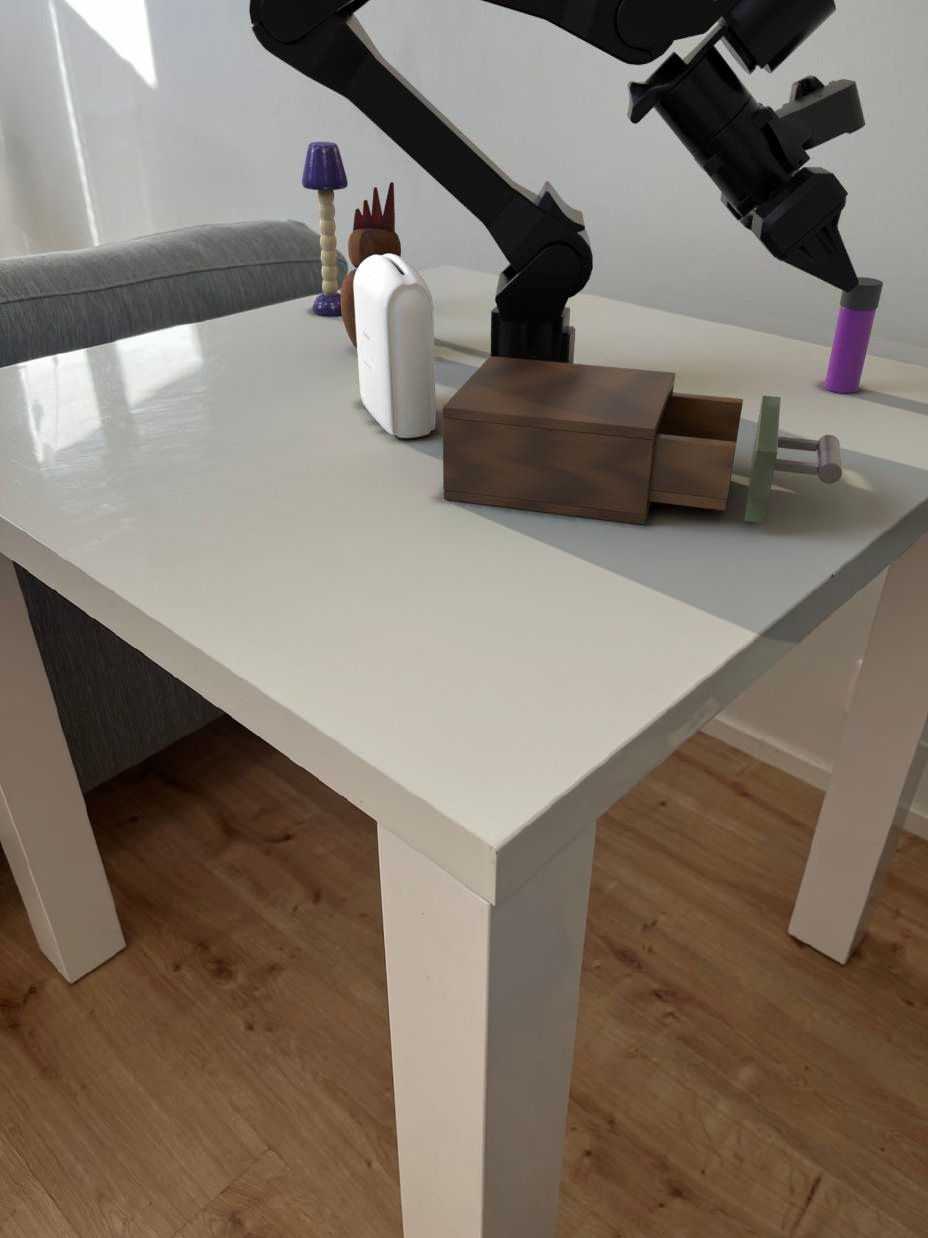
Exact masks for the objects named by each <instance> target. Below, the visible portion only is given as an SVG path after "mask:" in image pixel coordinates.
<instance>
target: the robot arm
mask: <svg viewBox="0 0 928 1238" xmlns="http://www.w3.org/2000/svg"><path fill="white" fill-rule="evenodd" d="M481 1H482V2H484V3H485V2H486V3H488V4H492V5H495V6H498V7H502V8H505V9H508V10H512V11H515V12H518V13H522V14H524V15H528V16H531V17H534V18H538V19H540V20H544V21H546V22H548V23H550V24H551V25H554V26H555V27H558V28H559V29H561V30H563V31H565V32H567V33H569V34H570V35H573V36H574V37H576V38H578V39H579V40H581V41H583V42H585V43H586V44H589V45H591V46H592V47H594V48H596V49H598V50H600V51H602V52H603V53H605V54H607V55H609V56H610V57H612V58H615V59H616V60H619V61H620V62H622V63H624V64H627V65H631V66H643V65H649V64H650V63H652V62H654V61H655V60H657V59H659V58H661V57H662V56H664V54H665V53H666V52H667V51H668V50H669V48H670V47H672V45H673V44H674V42H675V41H679V40H684V39H687V38H692V37H696V36H701V35H705V34H706V33H707V32H709V30H710V29H711V28H713V29H712V30H711V31H710V32H709V33H708V34H707V35H706V36H705V37H704V38H703V39H702V40H701V41H700V42H699V43H698V44H697V45H696V46H695V47H694V48H693V49H692V50H691V51H690V52H689V53H688V54H687V55H685V56H684V58H683V57H681V56H680V55H679V54H678V53H676V52H675V51H672V52H671V53H670V55H668V57H666V59H665V60H664V61H663V62H661V64H660V65H659V66H658V67H657V68H656V69H655V70H654V71H653V72H652V73H651V74H650V75H649V76H648V77H647V78H646V79H645V81H635V80H629V82H628V83H627V90H628V97H629V98H628V99H629V100H628V108H627V112H626V116H627V118H628V120H629V121H630V123H632V124H634V125H637V124H638V123H640V122H641V121H642V120H643V119H644V118H645V117H646V116H647V115H648V114H649V113H650V112H651V111H652V109H654V110H655V111H656V112H657V114H658V115H659V117H660V118H661V119H662V120H663V122H664V123H665V124H666V125H667V126H668V128H669V129H670V130H671V131H672V133H673V134H674V135H675V137H677V139H678V140H679V141H680V142H681V144H682V145H683V146H684V147H685V148H686V150H687V151H688V152H689V153H690V155H691V156H692V157H693V160H694V162H696V164H697V165H698V167H700V169H701V170H702V171H704V172H705V173H706V175H707V177H709V178H710V180H711V181H712V182H713V183H714V184H715V187H717V189H719V191H720V192H721V193H720V202H721V203H722V204H723V205H724V207H725V208H726V209H727V210H728V212H729V213H730V214H731V215H732V217H734V219H735V220H737V222H739V223H740V224H741V225H742V226H743V227H744V228H746V229H747V230H749V231H751V232H752V234H753V235H754V236H755V238H756V239H757V240H758V241H759V242H760V243H761V244H762V246H763V247H764V248H765V249H766V250H767V252H769V254H770V255H772V257H774V258H775V259H777V260H778V261H780V262H783V263H786V264H787V265H789V266H792V267H793V268H795V269H798V270H799V271H801V272H804V273H806V274H808V275H810V276H812V277H815V278H817V279H818V280H821V281H823V282H824V283H826V284H828V285H831V286H833V287H835V288H836V289H839V290H841V291H842V290H843V291H845V292H850V291H852V290H853V289H854V288H855V287H856V286H858V284H859V280H858V278H857V277H858V276H857V275H858V274H857V273H856V271H855V268H854V265H853V263H852V261H851V258H850V255H849V253H848V250H847V248H846V245H845V242H844V241H843V238H842V235H841V233H840V229H839V222H840V219H841V215H842V211H843V210H844V209H845V208H846V204H847V196H848V195H849V193H848V191H847V190H846V188H845V187H844V186H843V185H842V183H841V182H840V180H839V179H838V178H837V176H836V175H835V174H834V172H831V171H829V170H828V169H825V168H824V167H822V166H804V165H806V163H808V162H809V161H810V160H811V156H810V155H809V154H808V152H807V151H809V150H811V149H814V148H817V147H818V146H821V145H823V144H825V143H827V142H829V141H831V140H833V139H835V138H838V137H840V136H842V135H844V134H848V135H850V134H851V135H852V134H853V133H855V132H857V131H859V130H861V129H862V128H864V127H865V126H866V119H865V116H864V111H863V107H862V104H861V98H860V95H859V91H858V90H859V89H858V86H857V82H856V81H855V80H851V79H847V78H846V79H845V78H841V79H837V80H831V81H829V82H828V84H826V85H825V84H824V83H823V82H822V81H821V80H820V79H819V78H818V77H817V76H816V75H811V74H810V75H807V76H805V77H803V78H800V79H799V80H797V81H795V82H793V83H792V84H791V89H790V95H789V100H788V102H785V103H783V104H782V105H781V106H782V107H780V108H778V109H776V110H774V108H773V107H771V106H770V105H766V106H764V104H763V103H761V102H758V101H757V100H756V98H755V97H754V96H753V95H752V93H751V92H750V91H749V90H748V88H747V87H746V86H745V84H744V83H743V81H742V80H741V79H740V78H739V76H738V75H737V74H736V72H735V71H734V70H733V69H732V67H731V66H730V65H729V63H728V62H727V61H726V59H725V58H724V57H723V56H722V54H721V53H720V52H719V49H718V48H717V47H716V46H715V45H716V44H717V43H718V42H720V41H721V43H722V44H723V46H724V47H725V49H726V50H727V51H728V53H729V54H730V55H731V57H732V58H733V59H734V60H735V62H736V63H737V64H738V65H739V67H741V68H742V70H743V71H745V73H746V74H748V75H749V76H751V75H752V74H753V73H754V72H755V71H756V70H757V67H758V68H759V69H760V70H764V71H766V73H768V74H770V75H771V74H772V73H773V72H774V71H775V70H776V69H778V67H780V66H781V64H783V63H784V62H785V61H786V60H787V59H788V58H789V57H790V56H791V55H792V54H793V53H794V52H795V51H796V50H797V49H798V48H799V47H800V46H801V45H802V44H803V43H804V42H805V41H806V40H807V39H809V38H810V36H812V34H813V33H814V32H816V31H817V29H819V27H821V26H822V25H823V24H824V23H825V22H826V21H827V20H828V19H829V18H830V17H831V16H832V15H833V14H834V13H835V12H836V11H837V5H836V2H835V0H481ZM369 2H371V0H249V8H248V12H249V19H250V24H251V31H252V32H253V35H254V36H255V38H256V40H257V41H258V42H259V43H260V45H261V46H262V48H264V49H265V50H266V51H267V52H269V53H270V54H271V55H273V56H274V57H276V58H277V59H279V60H280V61H282V62H284V63H285V64H286V65H288V66H290V67H291V68H292V69H294V70H295V71H297V72H299V73H300V74H301V75H304V77H305V76H306V77H307V78H309V79H310V80H312V81H314V82H316V83H318V84H320V85H322V86H323V87H326V88H327V89H329V90H331V91H333V92H334V93H337V94H338V95H340V96H342V98H345V99H346V100H348V101H349V102H350V103H351V104H353V105H354V106H355V107H356V108H357V109H358V110H359V111H360V112H361V113H362V114H363V115H364V116H365V117H367V118H368V119H369V120H370V121H371V122H372V123H373V124H374V125H375V126H376V127H377V128H378V129H380V131H382V132H383V133H384V134H385V135H386V136H387V137H388V138H389V139H391V141H392V142H394V143H395V144H396V145H397V146H398V147H399V148H400V149H402V151H403V152H405V153H406V154H407V155H408V156H409V157H410V158H411V159H412V160H413V161H414V162H415V163H417V165H419V166H420V167H421V168H422V169H423V170H424V171H426V173H428V174H429V176H430V177H432V178H433V179H434V180H435V181H436V182H437V183H438V184H440V186H442V187H443V188H444V190H446V191H447V192H448V193H449V194H450V195H452V197H453V198H455V199H456V200H457V201H458V202H459V203H460V204H461V205H462V206H463V207H464V208H465V209H466V210H468V211H469V212H470V213H471V214H472V215H473V216H474V217H475V218H476V219H478V221H480V223H481V224H483V226H484V227H485V228H486V229H487V231H488V232H489V234H490V236H491V237H492V239H493V240H494V243H495V244H496V245H497V246H498V248H499V250H500V251H501V253H502V254H503V255H504V257H505V259H506V260H507V261H508V263H509V264H508V265H507V266H506V267H505V268H504V269H503V270H502V271H501V272H500V273H499V275H498V281H497V286H496V290H495V291H496V292H495V297H494V301H495V304H496V306H495V307H494V308H493V309H492V310H491V311H490V356H493V357H504V358H515V359H527V360H538V361H549V362H561V363H572V364H574V360H575V346H576V345H575V344H576V327H575V326H573V325H570V321H571V320H570V317H571V307H569V306H568V307H567V306H566V305H567V303H568V301H569V299H571V298H573V297H575V296H576V295H578V294H579V293H580V292H581V291H582V290H584V288H585V287H586V285H587V284H588V282H589V281H590V279H591V276H592V272H593V269H594V255H593V250H592V245H591V240H590V236H589V234H588V231H587V229H586V225H585V219H584V215H583V212H582V211H581V210H578V209H576V208H573V207H572V206H570V205H569V204H567V203H566V202H565V201H564V199H563V198H562V197H561V196H560V194H559V193H558V191H557V190H556V189H555V188H554V186H553V185H552V183H551V182H550V181H548V180H546V181H545V182H544V184H543V186H542V187H541V189H540V191H539V192H538V194H537V193H536V192H533V191H531V190H530V189H528V188H527V187H524V186H523V185H520V184H519V183H517V182H516V181H514V180H513V179H512V178H511V177H510V176H509V175H508V174H507V173H506V172H504V170H502V168H500V166H498V165H497V164H496V163H495V162H494V161H493V160H492V159H491V158H489V156H488V155H487V154H486V153H484V152H483V151H482V150H481V149H480V148H479V147H478V146H477V145H476V144H475V143H474V142H473V141H472V140H471V139H470V138H469V137H468V136H467V135H466V134H465V133H464V132H462V131H461V130H460V129H459V127H457V126H456V125H455V124H454V123H453V122H452V120H451V121H450V120H449V118H448V117H446V115H445V114H443V112H441V111H440V110H439V109H438V108H437V106H435V105H434V104H433V103H432V102H431V101H430V100H428V99H427V97H425V95H423V94H422V93H421V92H420V91H419V90H418V88H416V87H415V86H414V85H413V84H412V83H411V82H410V81H409V80H407V78H406V77H404V76H403V75H402V74H401V73H400V72H399V71H398V70H397V69H396V68H395V67H394V66H393V65H392V64H391V63H389V61H388V60H387V59H385V57H383V55H382V54H381V52H379V49H378V48H377V47H376V45H375V44H374V42H373V40H372V39H371V37H370V36H369V34H368V33H367V32H366V30H365V28H364V27H363V25H362V24H361V22H360V20H359V19H358V17H357V16H356V15H355V13H357V11H359V10H360V9H361V8H363V7H364V6H365V5H366V4H368V3H369ZM716 23H717V25H716V26H715V27H713V26H714V25H715V24H716Z"/></svg>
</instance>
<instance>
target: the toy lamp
mask: <svg viewBox="0 0 928 1238" xmlns="http://www.w3.org/2000/svg"><path fill="white" fill-rule="evenodd" d="M341 155H342V154H341V152H340V148H339V146H338V144H337V143H336V142H333V141H332V142H331V141H313V142H309V143H308V145H307V149H306V153H305V159H304V163H303V164H304V165H303V171H302V177H301V185H302V187H303V188H304V189H307V190H312V191H317V200H318V203H319V205H318V216H319V218H320V221H319V231H320V234H321V235H320V239H319V243H320V244H319V245H320V247H321V252H320V261H321V264H322V266H321V277H322V282H321V288H322V293H321V294H319V295H318V296H317V297H315V299H314V300H313V303H312V308H311V309H312V312H313V314H316V315H320V316H327V317H332V316H342V312H341V292H338V290H339V284H338V281H337V278H338V267H337V262H338V253H337V250H336V248H337V245H338V243H337V242H338V241H337V237H336V234H335V233H336V230H337V225H336V221H335V216H336V207H335V205H334V202H335V191H338V190H343V189H344V190H345V189H346V188H347V187H348V185H349V184H348V183H349V182H348V177H347V174H346V170H345V166H344V162H343V159H342V156H341Z"/></svg>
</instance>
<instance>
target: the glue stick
mask: <svg viewBox="0 0 928 1238" xmlns="http://www.w3.org/2000/svg"><path fill="white" fill-rule="evenodd" d="M857 278H858V280H859V284H858V286H856V287H855V288H854V289H853V290H852V291H850V292H845V291H843V290H841V296H840V300H839V306H840V307H839V312H838V317H837V320H836V326H835V332H834V336H833V341H832V347H831V350H830V351H831V352H830V355H829V361H828V366H827V370H826V376H825V381H824V385H823V386H824V388H825V389H826V390H828V391H829V392H833V393H838V394H852V393H856V392H858V391H859V387H860V383H861V379H862V375H863V370H864V365H865V361H866V356H867V352H868V348H869V342H870V338H871V333H872V331H873V325H874V320H875V316H876V311H877V309H878V308H879V304H880V300H881V295H882V291H883V286H884V282H883V281H882V280H880V279H877V278H872V277H864V276H863V277H862V276H857Z"/></svg>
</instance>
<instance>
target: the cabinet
mask: <svg viewBox="0 0 928 1238" xmlns="http://www.w3.org/2000/svg"><path fill="white" fill-rule="evenodd" d="M675 379H676V372H673V371H661V370H652V369H651V370H649V369H637V368H628V367H627V368H625V367H617V366H616V367H615V366H604V365H593V364H581V363H573V364H572V363H561V362H549V361H538V360H527V359H515V358H504V357H493V356H491V355H490V356H488V358H487V359H486V360H485V361H484V362H483V363H482V364H481V365H480V366H479V367H478V369H477V370H476V371H474V373H473V374H472V375H471V376H470V377H469V378H468V379H467V381H466V382H465V383H464V384H463V385H462V386H461V387H460V388H459V389H458V390H457V391H456V393H455V394H453V395H452V397H451V398H450V399H449V400H448V401H447V402H445V404H444V405H443V406H442V408H441V409H442V482H443V483H442V484H443V485H442V487H443V488H442V489H443V500H448V501H453V502H454V501H455V502H463V503H470V504H479V505H486V506H494V507H501V508H510V509H517V510H524V511H525V510H526V511H533V512H540V513H541V512H542V513H549V514H555V515H564V516H572V517H573V516H574V517H580V518H587V519H588V518H589V519H595V520H603V521H613V522H618V523H626V524H627V523H628V524H634V525H642V526H643V525H645V524H646V520H647V518H648V515H649V511H650V508H651V505H652V502H650V501H648V496H649V487H650V478H651V469H652V460H653V451H654V442H655V435H656V432H657V429H658V426H659V424H660V421H661V418H662V415H663V412H664V410H665V407H666V404H667V401H668V398H669V395H670V393H671V392H674V390H675V389H674V388H675Z"/></svg>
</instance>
